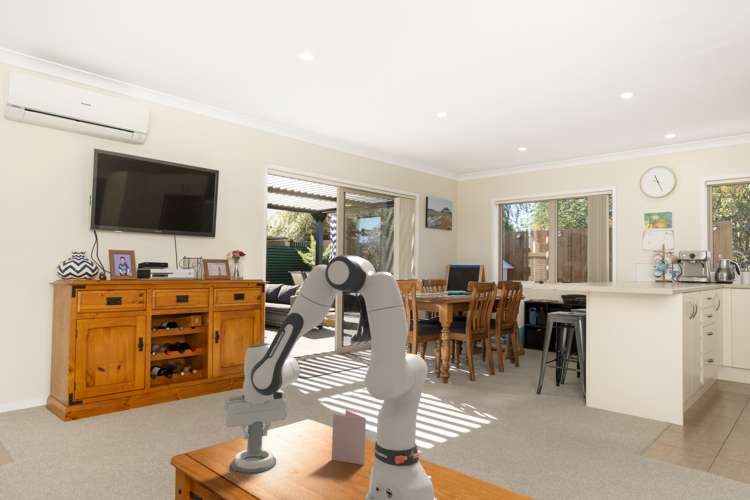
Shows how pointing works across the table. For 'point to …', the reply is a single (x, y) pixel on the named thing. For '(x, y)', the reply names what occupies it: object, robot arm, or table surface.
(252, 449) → the grey cylinder
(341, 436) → the greeting card
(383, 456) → the robot arm
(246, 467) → the ring dish
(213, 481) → the table surface
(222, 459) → the table surface
